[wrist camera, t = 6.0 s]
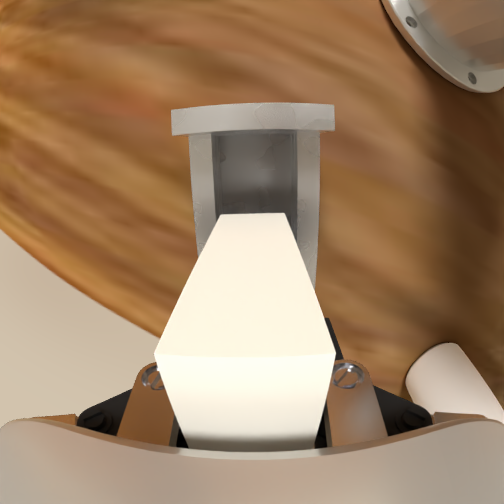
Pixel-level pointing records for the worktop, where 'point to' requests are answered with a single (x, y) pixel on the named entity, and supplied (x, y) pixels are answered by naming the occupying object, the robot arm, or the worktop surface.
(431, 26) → the robot arm
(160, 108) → the worktop surface
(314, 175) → the track
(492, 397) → the can
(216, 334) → the plain white block
